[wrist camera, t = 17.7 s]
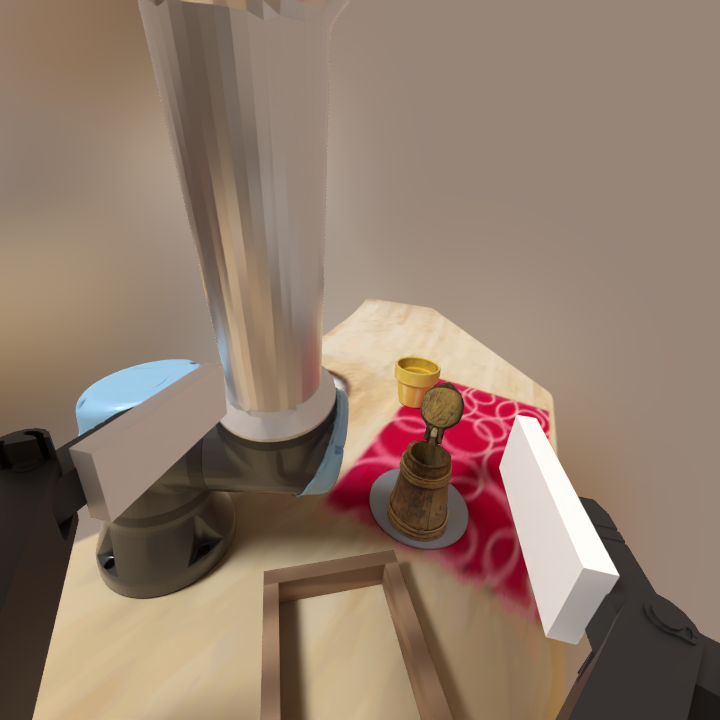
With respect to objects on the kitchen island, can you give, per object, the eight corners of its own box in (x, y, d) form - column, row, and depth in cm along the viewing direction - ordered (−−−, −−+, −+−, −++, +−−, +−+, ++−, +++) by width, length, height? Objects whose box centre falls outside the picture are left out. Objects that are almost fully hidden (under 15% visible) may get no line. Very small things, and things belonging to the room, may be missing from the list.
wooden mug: (455, 484, 55) (480, 389, 48) (441, 552, 44) (471, 440, 36) (403, 466, 58) (420, 374, 51) (377, 525, 46) (394, 417, 39)
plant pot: (386, 390, 84) (391, 354, 80) (425, 390, 86) (432, 356, 82) (395, 412, 75) (402, 373, 71) (439, 413, 77) (447, 375, 73)
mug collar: (264, 591, 38) (263, 571, 36) (389, 569, 41) (393, 550, 40) (258, 931, 20) (255, 916, 19) (476, 838, 24) (488, 821, 22)
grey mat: (359, 474, 56) (359, 472, 56) (440, 466, 60) (440, 463, 60) (386, 558, 43) (386, 554, 43) (487, 540, 46) (489, 537, 46)
